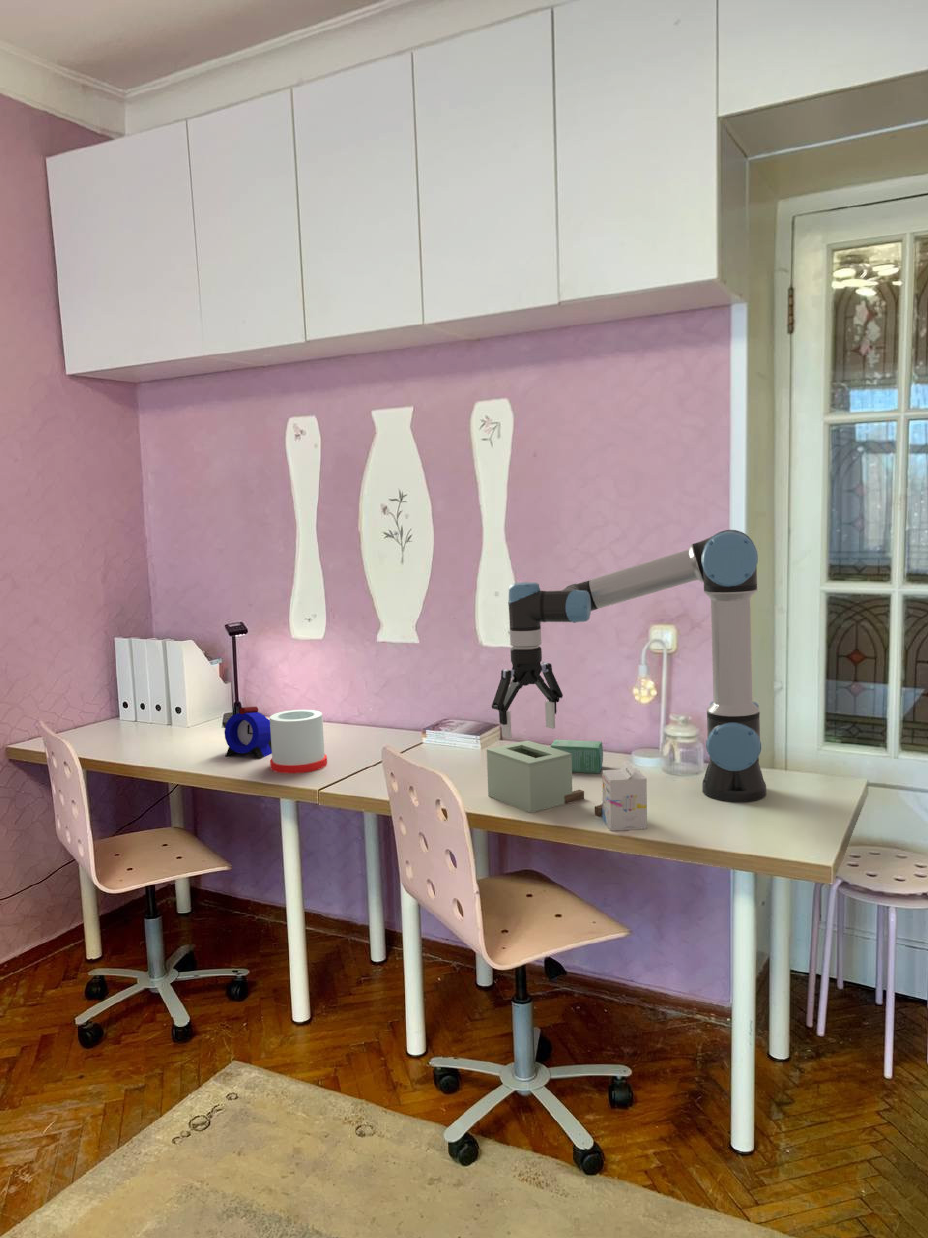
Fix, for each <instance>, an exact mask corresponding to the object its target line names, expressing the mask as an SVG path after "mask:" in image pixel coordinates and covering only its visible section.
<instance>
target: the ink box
mask: <svg viewBox="0 0 928 1238" xmlns="http://www.w3.org/2000/svg"><path fill="white" fill-rule="evenodd" d="M647 785H648V784H647V777H646V776H645V775H644V774H643V773H642V772H641V770H640V768H639V769H638V768H637V767H636V768H633V766H632V765H631V764H630V762H628V761H627V762H625V763H624V765H622V766H621V768H620V769H619V768H618V769H605V770H602V804H603V816H602V820H603V821H604V822H605V825H606V826H607V827H608V829H609V830H610V832H611V831H612V832H613V831H614V832H617V831H630V830H633V831H634V830H646V829H648V801H647V799H648V798H647V796H648V793H647V787H648V786H647Z"/></svg>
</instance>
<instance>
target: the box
mask: <svg viewBox="0 0 928 1238" xmlns="http://www.w3.org/2000/svg"><path fill="white" fill-rule="evenodd" d="M550 747H551V748H555V749H558V750H561V751H565V752H568V753H571V754H572V773H583V774H584V773H587V774H599V773H600V771H601V769H602V768H603V767H602V766H603V761H604V748H603V742H602V741H595V740H576V739H575V740H573V739H571V740H569V739H554V740H553V742H552V743H551V744H550Z"/></svg>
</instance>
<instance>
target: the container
mask: <svg viewBox="0 0 928 1238" xmlns="http://www.w3.org/2000/svg"><path fill="white" fill-rule="evenodd" d="M269 720H270V731H271V747H272V754H271V759H270V762H269V764H270V769H271V771H273V772H275V773H280V774H302V773H310V772H314V771H318V770H320V769H321V770H322V769H323V768H325V767H326V766H327V765H328V756H327V754H326V753H325V739H324V738H325V737H324V721H323V720H324V719H323V713H322V712H321V711H319V710H317V709H316V710H314V709H292V710H284V711H280V712H275V713H273V714H271V715H270V716H269Z"/></svg>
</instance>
